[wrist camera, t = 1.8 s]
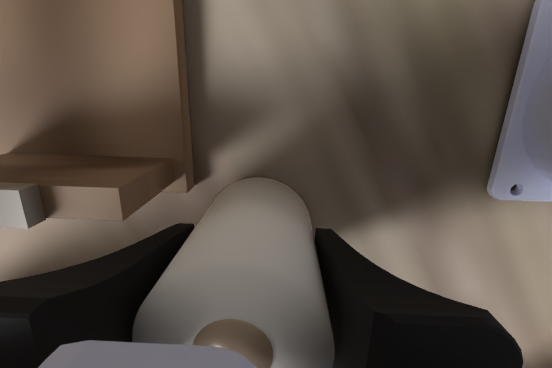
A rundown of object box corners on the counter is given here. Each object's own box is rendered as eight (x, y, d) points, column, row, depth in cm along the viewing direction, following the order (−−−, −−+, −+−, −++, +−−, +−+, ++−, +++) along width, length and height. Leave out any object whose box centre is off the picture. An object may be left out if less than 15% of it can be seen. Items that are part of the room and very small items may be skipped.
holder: (174, -116, 10) (44, -364, 5) (194, 185, 13) (131, 247, 8) (-49, -117, 10) (-423, -355, 5) (25, 180, 13) (-149, 236, 8)
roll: (314, 178, 13) (344, 270, 6) (308, 274, 14) (327, 431, 8) (204, 175, 13) (117, 261, 6) (209, 270, 15) (142, 421, 8)
